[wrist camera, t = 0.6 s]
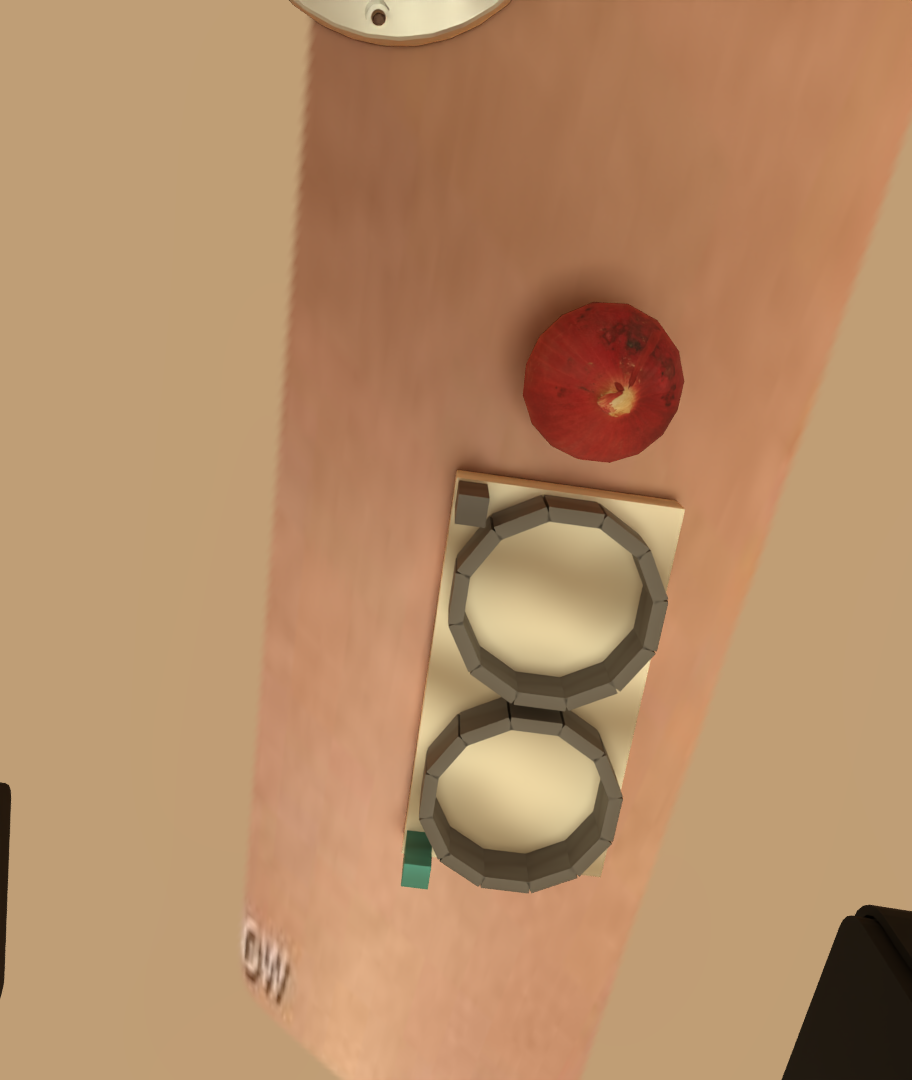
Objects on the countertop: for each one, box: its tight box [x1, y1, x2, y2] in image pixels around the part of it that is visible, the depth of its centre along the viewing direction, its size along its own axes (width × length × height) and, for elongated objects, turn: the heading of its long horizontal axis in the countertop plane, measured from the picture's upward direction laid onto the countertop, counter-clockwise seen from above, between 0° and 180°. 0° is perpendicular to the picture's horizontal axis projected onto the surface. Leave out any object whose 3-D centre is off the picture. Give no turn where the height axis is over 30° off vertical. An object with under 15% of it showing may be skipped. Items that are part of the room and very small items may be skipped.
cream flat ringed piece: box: [401, 470, 685, 893], centre depth 37 cm, size 18×10×4 cm, turn 172°
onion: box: [523, 302, 684, 463], centre depth 31 cm, size 6×6×8 cm
